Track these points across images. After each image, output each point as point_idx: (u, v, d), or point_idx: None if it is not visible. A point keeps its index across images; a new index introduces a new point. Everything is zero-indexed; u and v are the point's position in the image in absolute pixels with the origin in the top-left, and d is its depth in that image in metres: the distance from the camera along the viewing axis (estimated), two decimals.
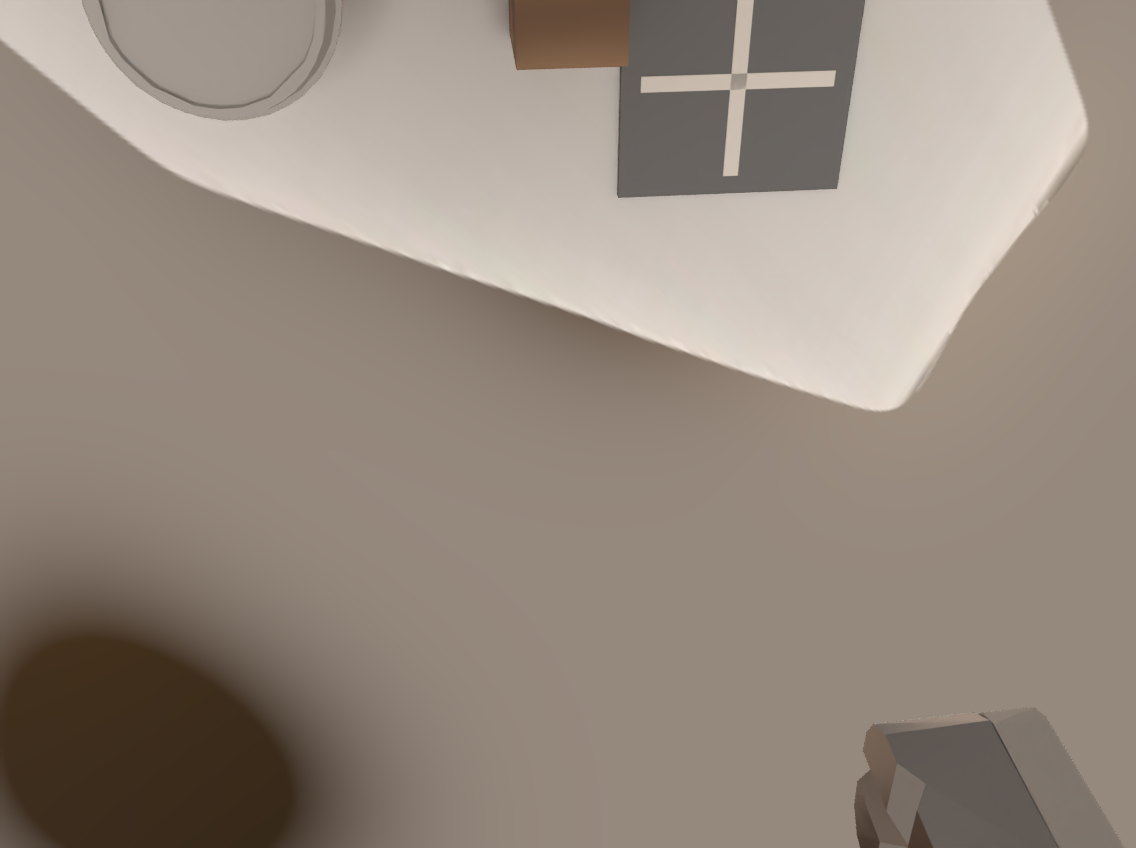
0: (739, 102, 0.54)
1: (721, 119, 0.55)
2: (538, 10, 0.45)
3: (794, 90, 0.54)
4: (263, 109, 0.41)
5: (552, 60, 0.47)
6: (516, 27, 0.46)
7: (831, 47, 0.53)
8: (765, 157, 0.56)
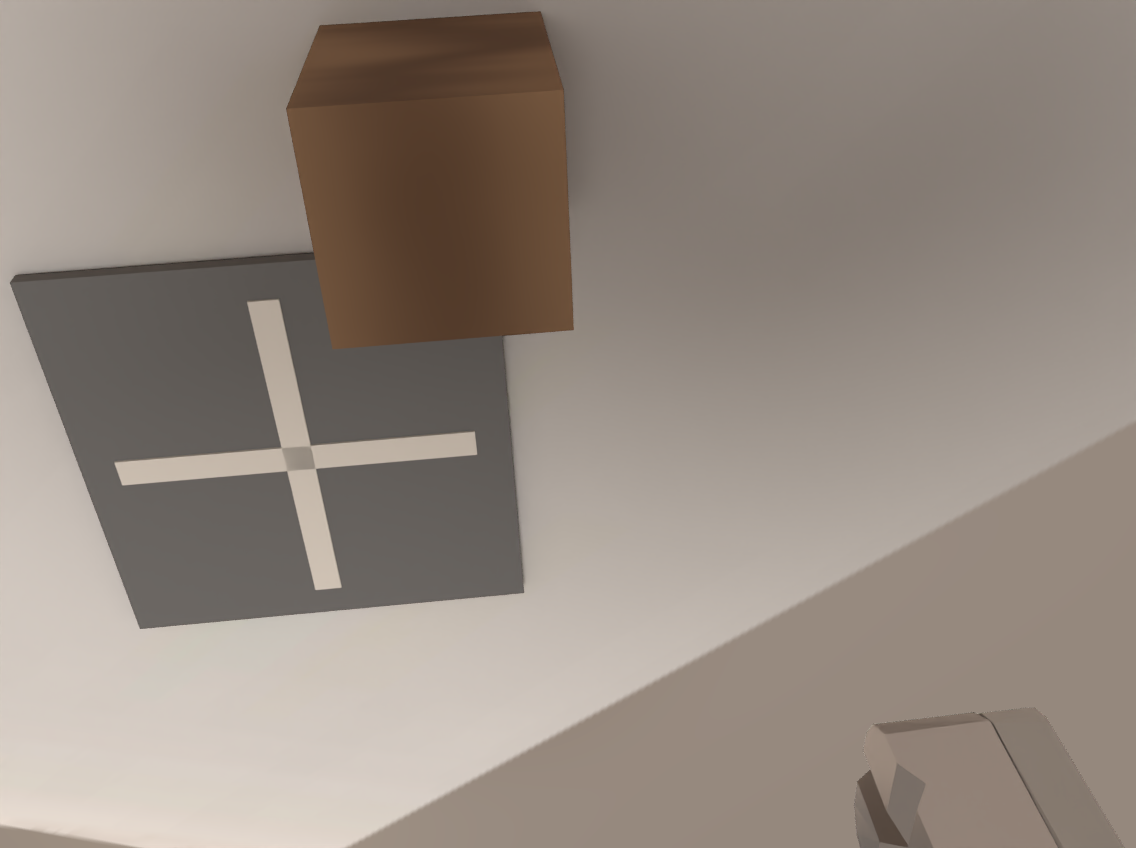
0: (261, 464, 0.30)
1: (223, 442, 0.29)
2: (432, 155, 0.20)
3: (298, 539, 0.31)
4: None
5: (321, 191, 0.20)
6: (387, 104, 0.19)
7: (376, 574, 0.33)
8: (168, 520, 0.31)
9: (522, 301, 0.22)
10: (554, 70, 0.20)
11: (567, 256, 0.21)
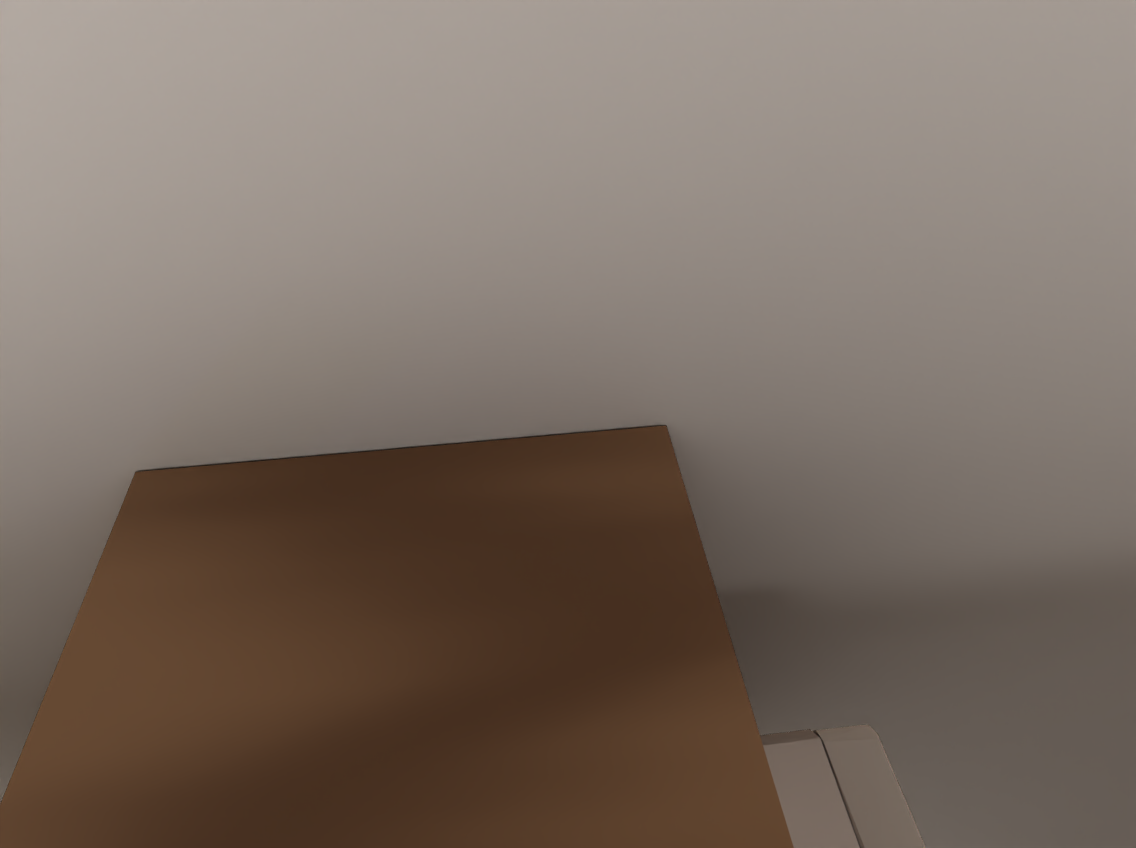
0: None
1: None
2: None
3: None
4: None
5: None
6: None
7: None
8: None
9: None
10: None
11: None
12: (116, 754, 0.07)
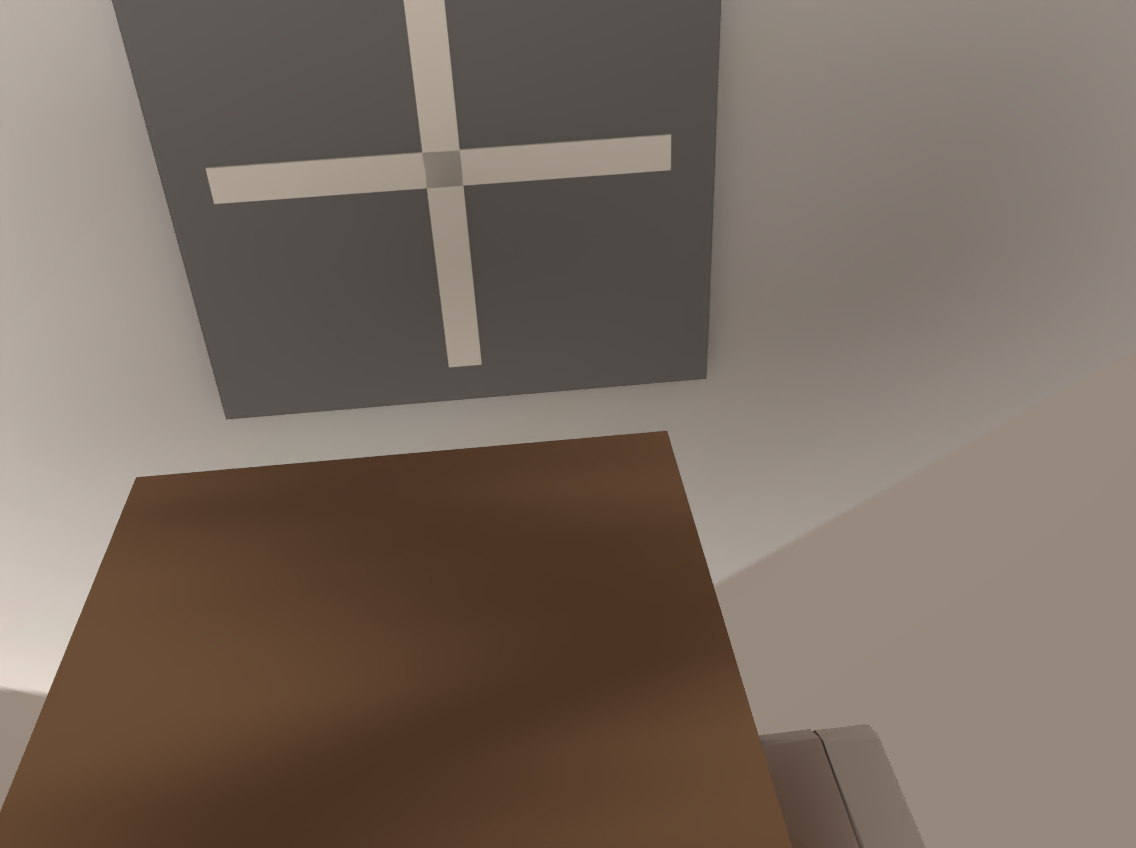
0: (394, 178, 0.23)
1: (348, 142, 0.22)
2: None
3: (433, 292, 0.25)
4: None
5: None
6: None
7: (526, 347, 0.26)
8: (270, 259, 0.24)
9: None
10: None
11: None
12: (116, 761, 0.07)
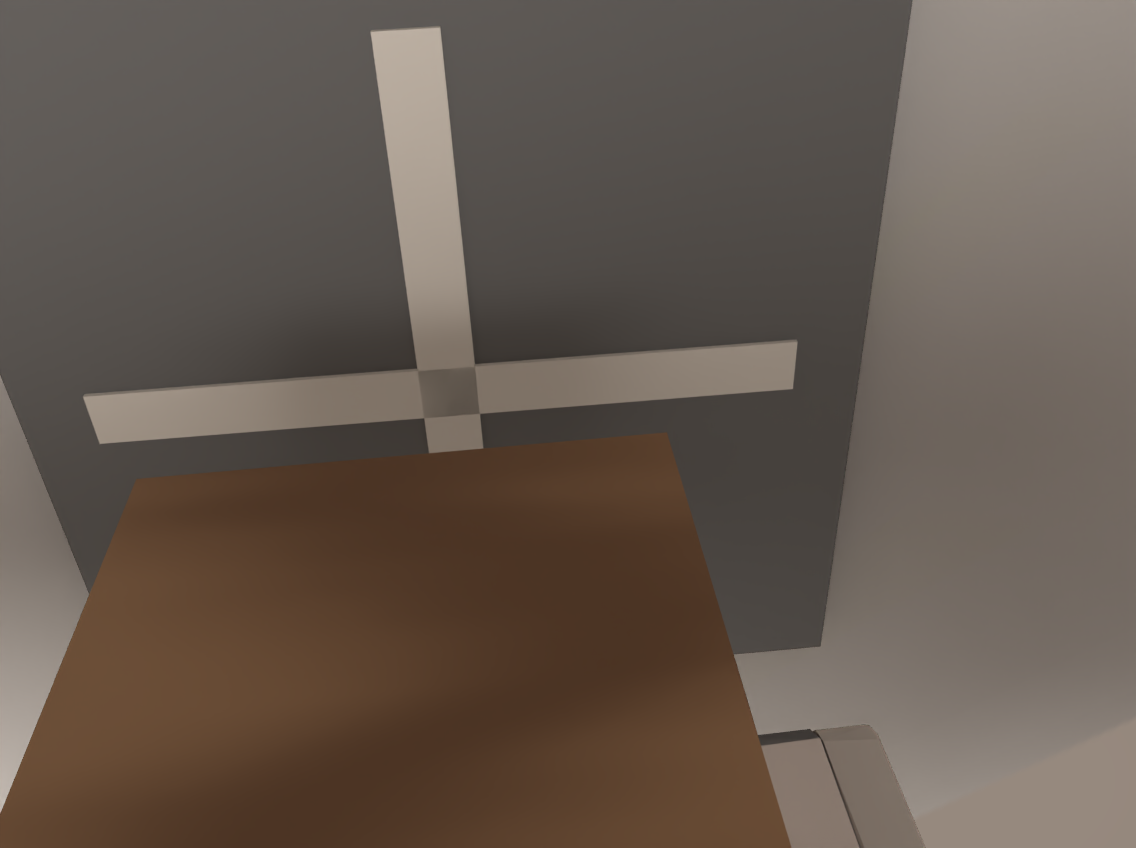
0: (374, 403, 0.15)
1: (303, 357, 0.15)
2: None
3: None
4: None
5: None
6: None
7: None
8: None
9: None
10: None
11: None
12: (117, 763, 0.07)
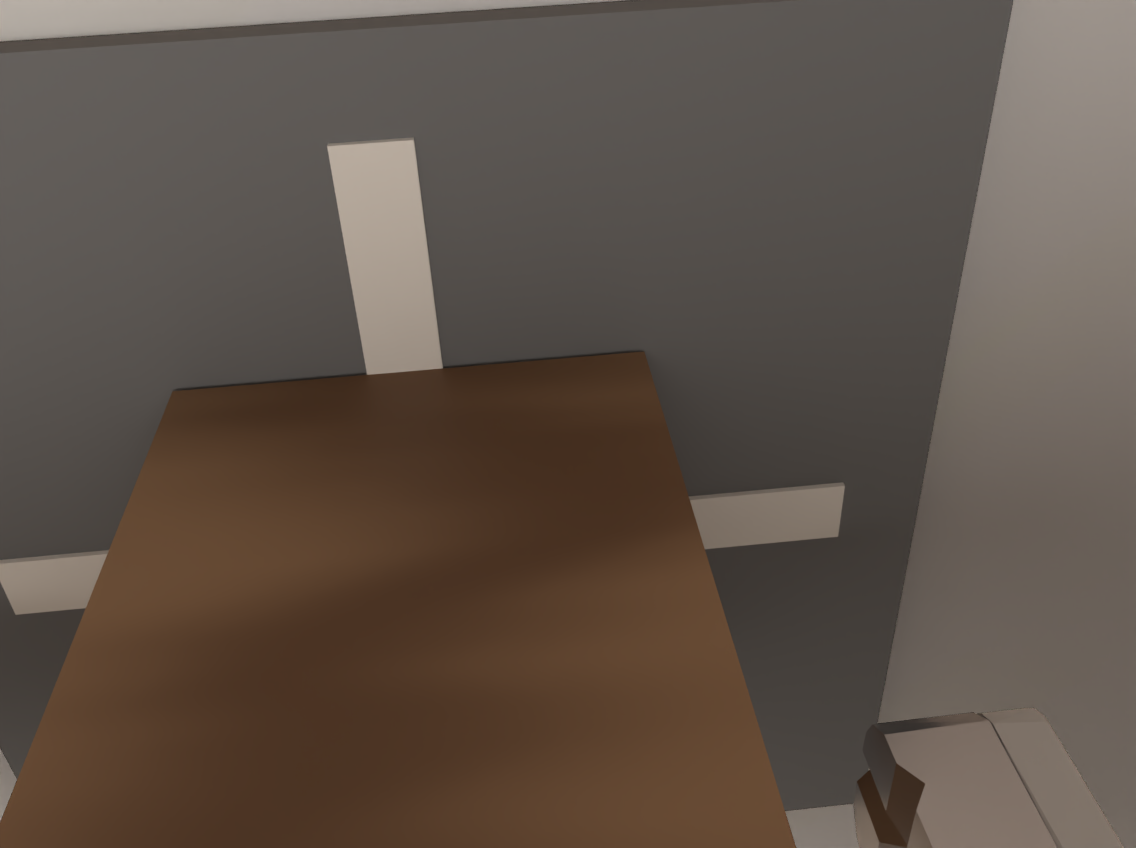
0: None
1: None
2: None
3: None
4: None
5: None
6: None
7: None
8: None
9: None
10: (740, 695, 0.07)
11: None
12: (168, 606, 0.08)
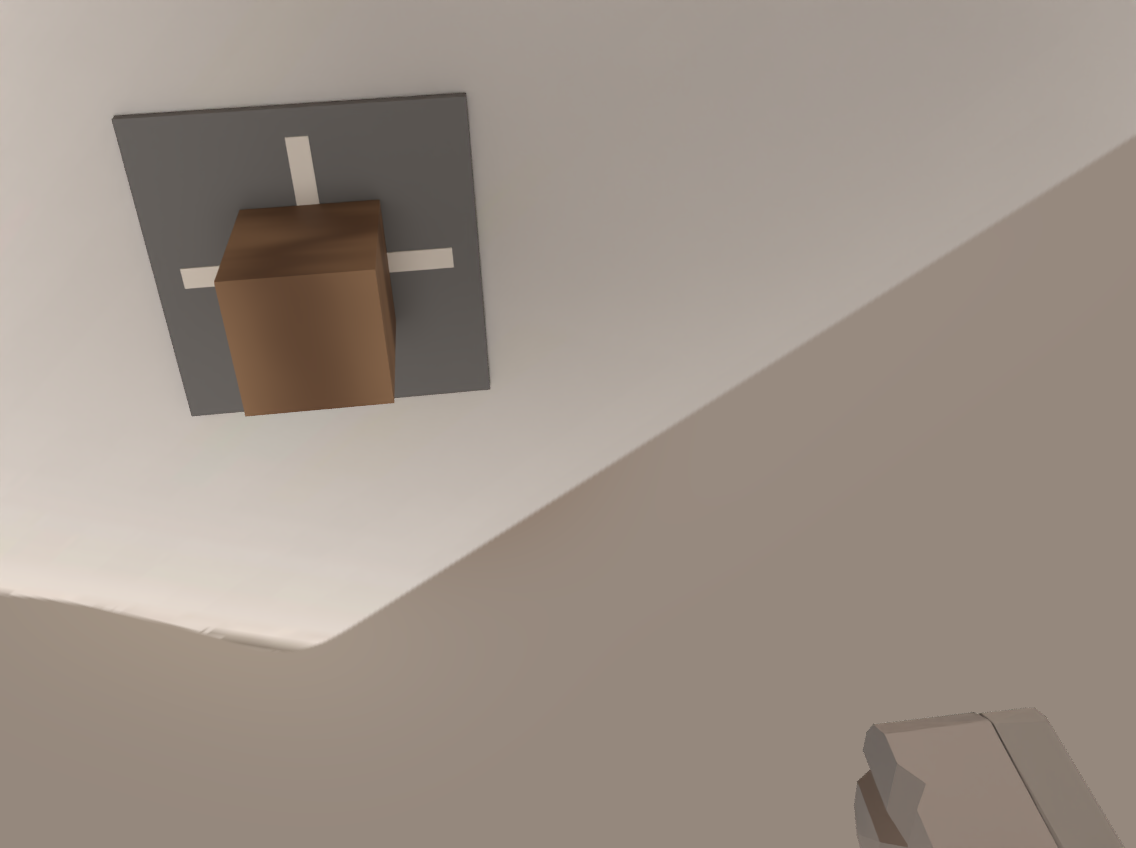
0: None
1: None
2: (300, 305, 0.34)
3: None
4: None
5: (236, 326, 0.34)
6: (272, 278, 0.33)
7: None
8: (218, 320, 0.40)
9: (361, 386, 0.36)
10: (374, 253, 0.34)
11: (386, 360, 0.35)
12: (246, 245, 0.35)
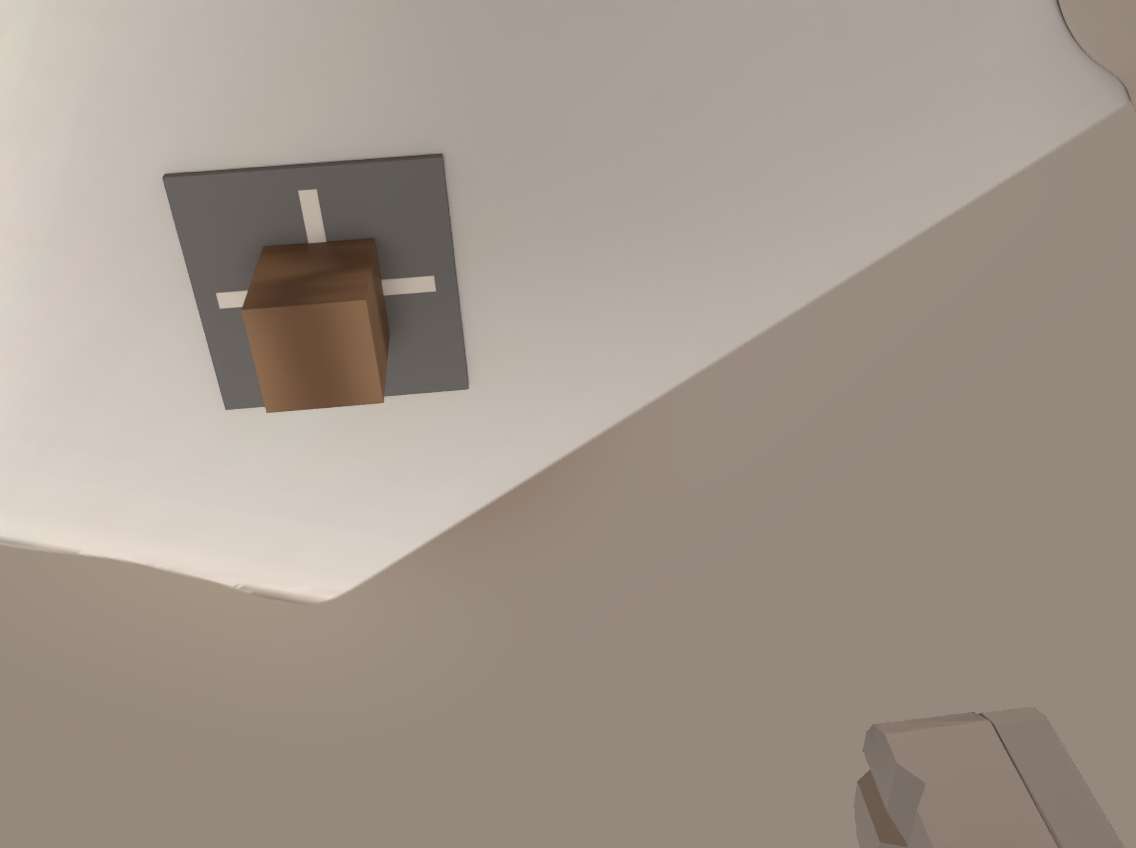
0: None
1: None
2: (308, 327, 0.43)
3: None
4: None
5: (258, 343, 0.43)
6: (286, 307, 0.43)
7: None
8: (246, 333, 0.50)
9: (357, 390, 0.45)
10: (366, 286, 0.44)
11: (376, 369, 0.45)
12: (267, 278, 0.45)
